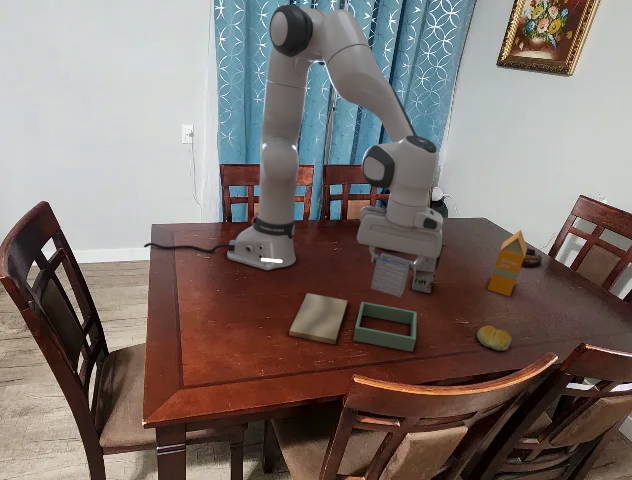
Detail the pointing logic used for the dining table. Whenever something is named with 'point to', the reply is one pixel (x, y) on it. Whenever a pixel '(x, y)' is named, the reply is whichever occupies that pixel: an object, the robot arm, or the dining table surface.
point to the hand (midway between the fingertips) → (393, 265)
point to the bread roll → (494, 338)
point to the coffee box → (426, 273)
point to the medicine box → (390, 274)
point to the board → (319, 318)
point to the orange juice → (508, 264)
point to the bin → (385, 337)
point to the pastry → (531, 258)
